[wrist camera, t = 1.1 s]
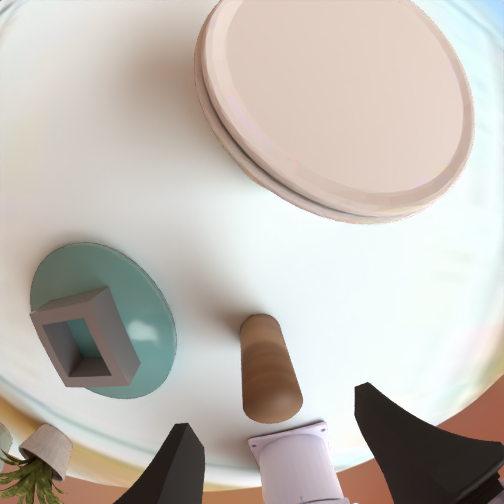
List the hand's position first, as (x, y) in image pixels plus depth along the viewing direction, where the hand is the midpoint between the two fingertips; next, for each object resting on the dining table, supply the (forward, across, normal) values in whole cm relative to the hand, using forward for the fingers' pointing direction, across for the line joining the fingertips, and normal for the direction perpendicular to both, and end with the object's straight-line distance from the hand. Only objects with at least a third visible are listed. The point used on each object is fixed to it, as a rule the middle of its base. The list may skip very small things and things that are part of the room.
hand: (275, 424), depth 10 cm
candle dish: (+10, +13, -2) cm, 17 cm away
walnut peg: (+10, 0, +1) cm, 10 cm away
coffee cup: (+11, -5, -12) cm, 17 cm away
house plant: (+10, +32, +13) cm, 36 cm away
